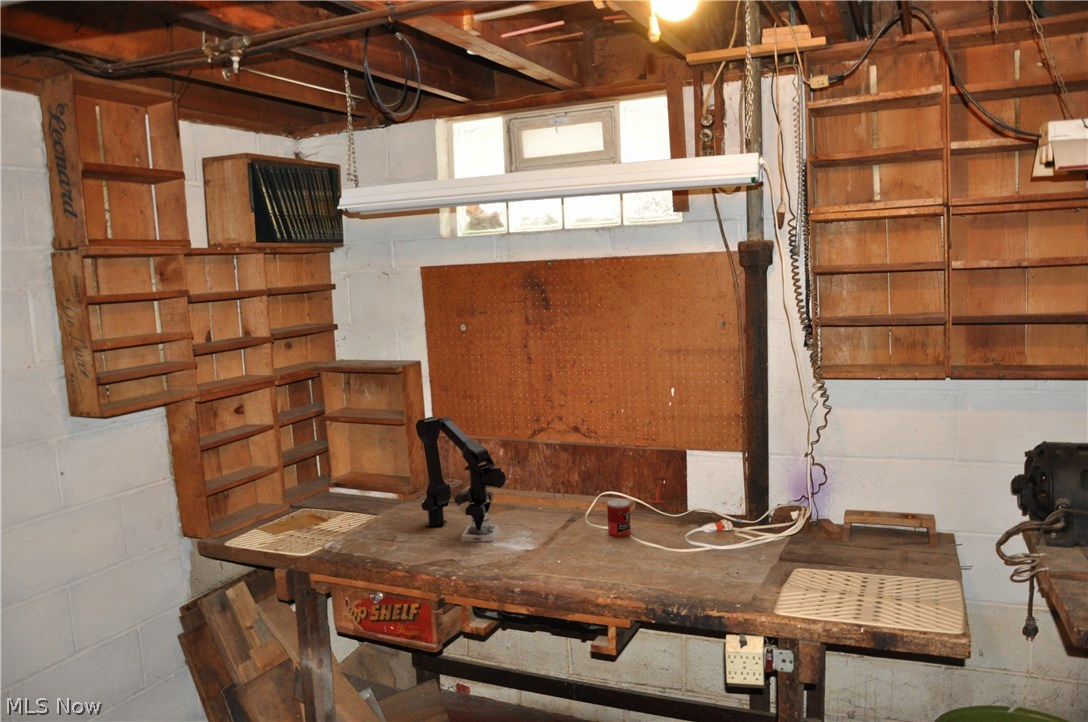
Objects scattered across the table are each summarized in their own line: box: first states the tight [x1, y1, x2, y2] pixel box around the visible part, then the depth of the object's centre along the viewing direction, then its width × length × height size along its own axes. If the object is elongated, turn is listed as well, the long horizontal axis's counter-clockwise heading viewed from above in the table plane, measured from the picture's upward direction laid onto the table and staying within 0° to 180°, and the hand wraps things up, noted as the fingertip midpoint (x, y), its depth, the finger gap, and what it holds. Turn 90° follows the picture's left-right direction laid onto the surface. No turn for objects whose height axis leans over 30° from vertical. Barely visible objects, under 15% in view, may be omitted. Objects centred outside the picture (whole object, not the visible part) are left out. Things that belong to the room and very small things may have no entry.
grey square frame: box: [461, 524, 500, 542], centre depth 277 cm, size 12×11×2 cm
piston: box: [471, 512, 490, 534], centre depth 277 cm, size 6×6×6 cm
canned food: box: [606, 498, 631, 538], centre depth 274 cm, size 8×8×11 cm
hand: (480, 527), depth 278 cm, fingers closed on piston, 6 cm apart
